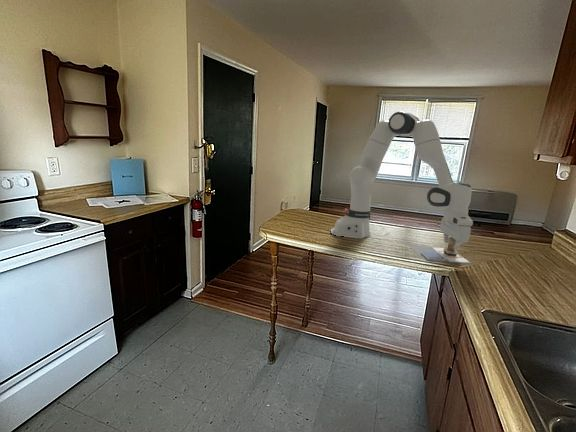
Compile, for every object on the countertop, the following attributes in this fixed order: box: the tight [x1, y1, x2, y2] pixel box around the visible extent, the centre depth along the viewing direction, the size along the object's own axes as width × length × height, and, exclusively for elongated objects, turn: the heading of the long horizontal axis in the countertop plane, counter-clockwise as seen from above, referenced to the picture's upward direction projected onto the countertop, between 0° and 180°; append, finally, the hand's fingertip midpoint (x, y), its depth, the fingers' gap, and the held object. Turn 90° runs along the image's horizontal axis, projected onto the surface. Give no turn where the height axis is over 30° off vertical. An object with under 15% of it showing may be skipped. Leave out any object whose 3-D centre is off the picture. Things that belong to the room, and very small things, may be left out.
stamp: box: [443, 236, 459, 256], centre depth 146 cm, size 4×4×8 cm
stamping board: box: [409, 245, 473, 264], centre depth 147 cm, size 20×20×2 cm
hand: (450, 245), depth 146 cm, fingers open, 8 cm apart
